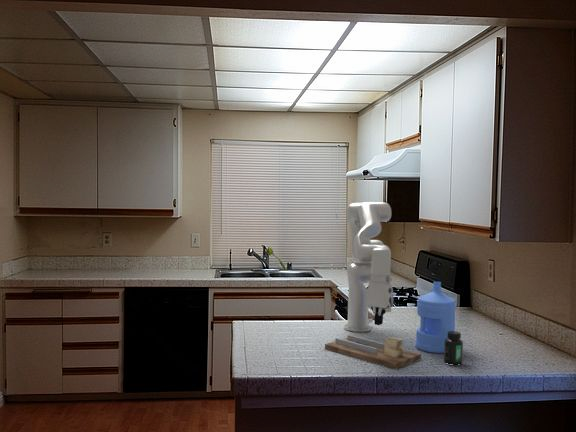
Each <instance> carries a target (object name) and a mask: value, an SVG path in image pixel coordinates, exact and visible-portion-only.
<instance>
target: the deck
mask: <svg viewBox="0 0 576 432" xmlns="http://www.w3.org/2000/svg"><path fill="white" fill-rule="evenodd" d="M342 339H343V340H347V339H348V337H346V338H342ZM347 341H351V340H347ZM351 342H354V341H351ZM355 343H358V342H355ZM358 344H362V343H358ZM362 345H366V344H362ZM366 346H370V345H366ZM370 347H373V346H370ZM374 348H377V347H374ZM324 350H327V351H329V352H330V351H332V352H335V353H337V354H342V355H345V356H348V357H351V356H352V358H355V359H359V360H363V361H365V360H366V362H369V363H372V362H373V363H372V364H376V363H377V364H376V365H379V364H380V366H383V365H384V366H383V367H386V366H387V368H390V367H391V368H390V369H393V368H394V369H393V370H397V369H399V368H398V367H400V368H402V367H404V366H403V365H405V366H407V365H410V364H412V363H415V362H418V361H420V360H421V359H422V354H421V353H417V352H414V351H410V350H406V349H403V352H402V355H401V356H398V357H392V356H388V355H384V349H381V348H377V354H374V353H370V352H366V351H363V350H359V349H355V348H352V347H348V346H344V345H341V344H337V343H336V340H335V341H331V342H327V343H325V344H324ZM419 359H420V360H419ZM417 360H418V361H417ZM414 361H415V362H414ZM411 362H412V363H411ZM409 363H410V364H409ZM406 364H407V365H406ZM401 366H402V367H401ZM396 368H397V369H396Z"/></svg>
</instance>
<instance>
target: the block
mask: <svg viewBox="0 0 576 432" xmlns="http://www.w3.org/2000/svg"><path fill="white" fill-rule="evenodd" d="M384 344H385V347H384V355H388V356H392V357H398V356H401V355H402V352H403V350H404V349H403V346H404V339H403V338H398V337H393V336H391V337H388V338H385V339H384Z"/></svg>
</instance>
